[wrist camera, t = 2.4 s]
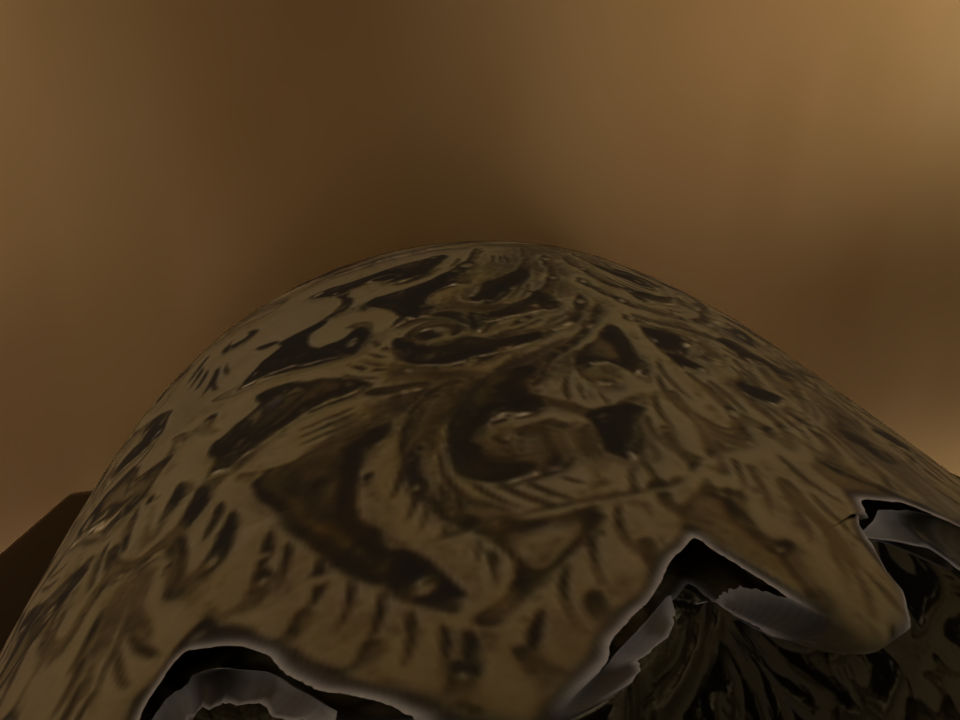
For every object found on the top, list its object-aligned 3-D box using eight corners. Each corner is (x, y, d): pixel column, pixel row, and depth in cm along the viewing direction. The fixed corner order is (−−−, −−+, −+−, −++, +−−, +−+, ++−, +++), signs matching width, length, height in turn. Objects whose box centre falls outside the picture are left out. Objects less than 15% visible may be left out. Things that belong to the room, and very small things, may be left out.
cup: (832, 235, 11) (1697, 868, 4) (543, 654, 14) (783, 1455, 7) (236, -66, 8) (-54, 313, 2) (25, 527, 11) (-420, 1613, 4)
